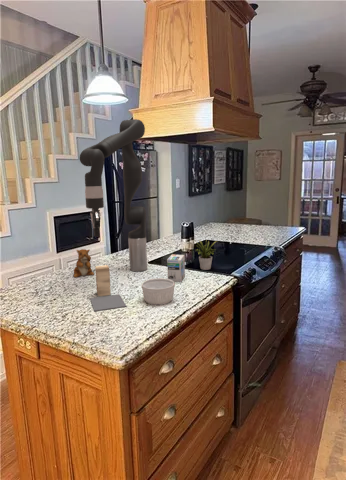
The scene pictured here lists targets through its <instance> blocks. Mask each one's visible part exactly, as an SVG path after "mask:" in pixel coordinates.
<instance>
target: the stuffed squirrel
mask: <svg viewBox="0 0 346 480" xmlns="http://www.w3.org/2000/svg"><path fill="white" fill-rule="evenodd" d="M90 251H91V250H90V249H85V248H84V249H76V253H77V254H78V256H77V257H78V259H77V261H76V264H75V267H74V269H73V278H75V279H77V278H78V277H81V276H82V277H84V276H94V275H95V272H94V271H93V268H91V267H92V264H91V259H92V256H91V255H89V252H90Z"/></svg>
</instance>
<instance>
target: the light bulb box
mask: <svg viewBox="0 0 346 480" xmlns="http://www.w3.org/2000/svg"><path fill="white" fill-rule="evenodd" d="M185 255H186V254H171V255H170V256H169V257H168V258H167V259H166V261H167V265H166V267H167V279H169V280H172V281H174V283H182V282H183V280H184V278H185V277H186V269H185V268H186V266H185V265H186V258H185Z"/></svg>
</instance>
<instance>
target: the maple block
mask: <svg viewBox="0 0 346 480" xmlns="http://www.w3.org/2000/svg"><path fill="white" fill-rule="evenodd" d="M110 277H111V275H110V267H109V265H108V264H107V265H105V264H104V265H103V264H102V265H96V266H95V281H96V295H97V297H101V296H109V295H112V293H111V292H112V291H111V278H110Z"/></svg>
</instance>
